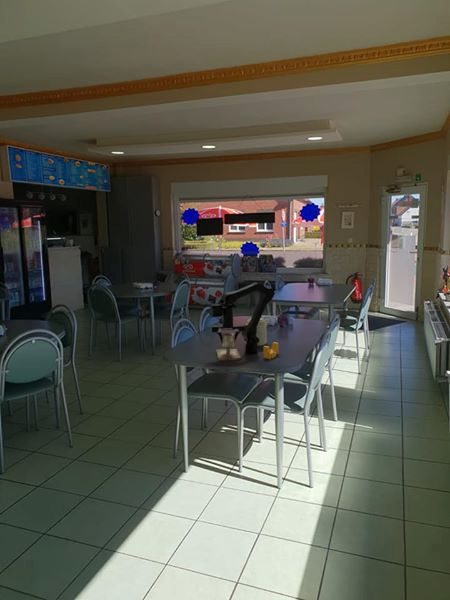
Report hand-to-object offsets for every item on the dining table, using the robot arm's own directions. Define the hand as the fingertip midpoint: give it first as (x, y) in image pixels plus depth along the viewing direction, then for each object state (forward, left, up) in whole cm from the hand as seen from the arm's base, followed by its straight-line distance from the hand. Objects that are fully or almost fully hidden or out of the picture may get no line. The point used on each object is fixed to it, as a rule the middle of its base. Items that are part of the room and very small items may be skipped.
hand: (228, 343), depth 259 cm
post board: (0, 0, -7) cm, 7 cm away
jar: (-20, -25, -7) cm, 33 cm away
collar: (0, 0, -1) cm, 1 cm away
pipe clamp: (-24, +3, -7) cm, 26 cm away
